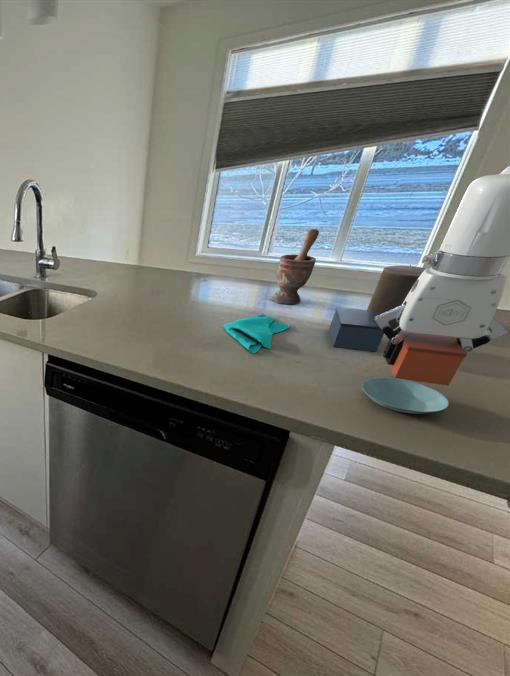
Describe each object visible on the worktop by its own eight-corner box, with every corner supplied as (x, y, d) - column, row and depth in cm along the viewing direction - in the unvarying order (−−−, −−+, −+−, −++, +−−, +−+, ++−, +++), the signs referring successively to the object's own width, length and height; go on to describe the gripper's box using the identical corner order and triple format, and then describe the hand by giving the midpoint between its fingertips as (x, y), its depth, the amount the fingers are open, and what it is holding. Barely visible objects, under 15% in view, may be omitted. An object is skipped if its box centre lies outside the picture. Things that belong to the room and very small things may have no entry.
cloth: (243, 312, 119) (244, 305, 118) (297, 322, 110) (299, 314, 108) (203, 341, 104) (204, 333, 103) (262, 356, 95) (264, 347, 94)
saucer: (406, 427, 70) (411, 416, 68) (342, 393, 80) (346, 383, 78) (461, 414, 71) (467, 403, 70) (391, 383, 81) (396, 373, 80)
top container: (433, 362, 74) (449, 332, 71) (449, 386, 67) (467, 353, 64) (383, 356, 77) (396, 327, 74) (393, 378, 70) (408, 347, 67)
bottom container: (368, 333, 100) (378, 311, 97) (376, 352, 92) (387, 328, 89) (328, 329, 104) (335, 307, 101) (332, 347, 96) (340, 323, 93)
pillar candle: (374, 329, 102) (398, 270, 95) (356, 315, 110) (377, 260, 103) (421, 330, 100) (450, 269, 92) (399, 316, 108) (424, 259, 100)
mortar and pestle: (270, 292, 131) (287, 227, 121) (302, 294, 127) (323, 228, 117) (268, 303, 123) (286, 235, 113) (302, 306, 119) (324, 236, 109)
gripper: (398, 266, 64) (357, 366, 73) (565, 274, 56) (495, 384, 65) (389, 255, 69) (351, 349, 78) (539, 260, 61) (478, 364, 70)
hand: (417, 364), depth 71 cm, fingers closed on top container, 6 cm apart
